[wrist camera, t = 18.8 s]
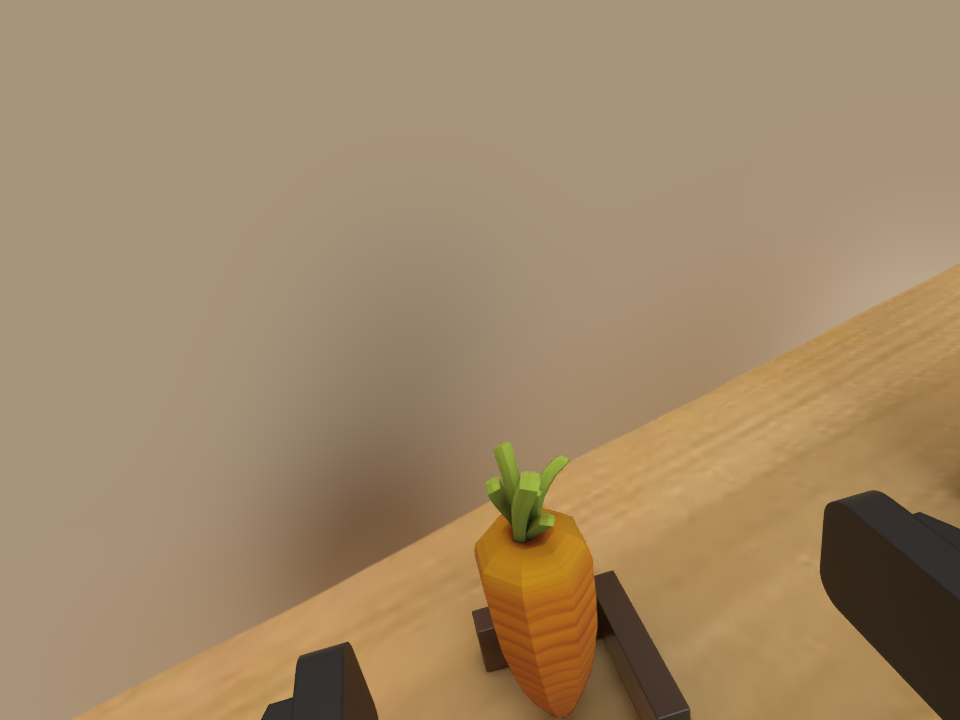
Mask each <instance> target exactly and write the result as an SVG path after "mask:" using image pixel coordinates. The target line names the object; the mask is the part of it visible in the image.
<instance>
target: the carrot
mask: <svg viewBox="0 0 960 720" xmlns="http://www.w3.org/2000/svg"><path fill="white" fill-rule="evenodd" d="M494 452H495V457H496V460H497V463H498V466H499V470H500V473H501V476H502V479H503V483H504V486H505V487H504V486H503V484H502V482H501V481H500V479H499V478H498V477H494V478H491V479H490V480H489V481H488V482H486V491H487V494H488V496H489V498H490V500H491V501H492V503H493V504H494V505H495V507H496V508H497V509H498V510H499V511H500V512H501V513H502V515H500V516H499V517H498V518H497V519H496V520H495V522H494V523H493V524H492V525H491V526H490V527H489V529H488V530H487V531H486V532H485V533H484V534H483V536H482V537H481V538H480V539H479V540H478V541H477V543H476V545H475V558H476V562H477V566H478V569H479V573H480V577H481V581H482V585H483V588H484V592H485V596H486V599H487V603H488V607H489V610H490V614H491V618H492V621H493V625H494V628H495V631H496V634H497V637H498V641H499V644H500V647H501V650H502V653H503V655H504V657H505V659H506V661H507V663H508V665H509V667H510V669H511V671H512V673H513V675H514V677H515V678H516V680H517V682H518V684H519V685H520V687H521V689H522V690H523V692H524V693H525V694H526V695H527V696H528V697H529V698H530V699H531V700H532V701H533V702H534V703H535V704H536V705H538V706H539V707H541V708H542V709H544V710H545V711H547V712H548V713H550V714H552V715H554V716H556V717H558V718H561V717H565V716H568V715H569V714H570V713H571V711H572V710H573V709H574V707H575V706H576V704H577V702H578V700H579V698H580V696H581V694H582V692H583V690H584V688H585V686H586V683H587V681H588V678H589V676H590V673H591V671H592V665H593V659H594V653H595V646H596V635H597V625H598V623H597V605H596V590H595V580H594V570H593V559H592V555H591V552H590V550H589V548H588V546H587V544H586V542H585V540H584V538H583V536H582V534H581V533H580V531H579V529H578V527H577V525H576V523H575V521H574V519H573V517H571V516H568V515H566V514H562V513H559V512H555V511H552V510H548V509H544V508H542V505H543V501H544V497H545V495H546V493H547V491H548V489H549V487H550V485H551V483H552V482H553V480H554V478H555V477H556V475H557V474H558V473H559V472H560V471H561V470H562V469H563V468H564V467H565V465H566V464H567V463H568V462H569V460H568V459H567V458H566V457H564V456H557V457H556V458H555V459H554V460H553V461H551V462H550V463H549V465H548V466H547V467H546V468H545V469H544V470H543V472H542V474H541V476H540V475H539V474H537V473H534V472H532V471H530V472H522V473H521V476H519V471H518V467H517V462H516V459H515V455H514V451H513V449H512V446H511V444H510V442H506V443H501V444H500V445H498V446H497V447H496V448H495V449H494Z"/></svg>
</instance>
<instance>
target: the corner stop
mask: <svg viewBox="0 0 960 720" xmlns="http://www.w3.org/2000/svg"><path fill="white" fill-rule="evenodd" d="M594 580H595V590H596V605H597V623H598V625H597V635H596V639H599V638H603V639H604V642H605V644H606V646H607V648H608V650H609V652H610V654H611V657H612V659H613V661H614V663H615V665H616V667H617V670H618V672H619V674H620V676H621V678H622V680H623V682H624V685H625V687H626V689H627V691H628V693H629V695H630V698H631V700H632V702H633V704H634V706H635V708H636V710H637V713H638V715H639V717H640V719H641V720H690V708H689V706H688V704H687V703H686V701H685V699H684V697H683V695H682V694H681V692H680V690H679V688H678V686H677V685H676V683H675V681H674V679H673V677H672V676H671V674H670V672H669V670H668V668H667V667H666V665H665V663H664V661H663V659H662V657H661V656H660V654H659V652H658V650H657V648H656V647H655V645H654V643H653V641H652V639H651V638H650V636H649V634H648V632H647V630H646V629H645V627H644V625H643V623H642V621H641V620H640V618H639V616H638V614H637V612H636V611H635V609H634V607H633V605H632V603H631V602H630V600H629V598H628V596H627V594H626V593H625V591H624V589H623V587H622V585H621V584H620V582H619V580H618V578H617V576H616V575H615V573H614V571H609V572H606V573H602V574H599V575H595V576H594ZM472 615H473V619H474V624H475V628H476V632H477V636H478V640H479V644H480V648H481V652H482V656H483V660H484V664H485V667H486V671H487V672H490V671H493V670H496V669H500V668H503V667H506V666H509V665H508V663H507V661H506V659H505V657H504V655H503V653H502V650H501V647H500V644H499V641H498V637H497V634H496V631H495V628H494V625H493V621H492V618H491V614H490V610H489V607H485V608H482V609H478V610H475V611H472Z"/></svg>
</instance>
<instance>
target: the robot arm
mask: <svg viewBox="0 0 960 720" xmlns="http://www.w3.org/2000/svg"><path fill="white" fill-rule="evenodd" d="M820 575H821V580H822V583H823V586H824V588H825V591H826V593H827V595H828V596H829V598H830V600H831V601H832V603H833V604H834V605H835V607H836V608H837V609H838V610H839V611H840V612H841V613H842V614H843V615H844V617H845V618H846V619H847V620H848V621H849V622H850V623H851V624H852V625H853V626H854V627H855V628H856V629H857V630H858V631H859V632H860V633H861V634H862V635H863V636H864V638H865V639H866V640H867V641H868V642H869V643H870V644H871V645H872V646H873V647H874V648H875V649H876V650H877V651H878V652H879V653H880V654H881V655H882V656H883V658H884V659H885V660H886V661H887V662H888V663H889V664H890V665H891V666H892V667H893V668H894V669H895V670H896V671H897V672H898V673H899V674H900V675H901V676H902V678H903V679H904V680H905V681H906V682H907V683H908V684H909V685H910V686H911V687H912V688H913V689H914V690H915V691H916V692H917V693H918V694H919V695H920V696H921V697H922V699H923V700H924V701H925V702H926V703H927V704H928V705H929V706H930V707H931V708H932V709H933V710H934V711H935V712H936V713H937V714H938V715H939V716H940V717H941V719H942V720H960V529H959V528H956V527H954V526H952V525H949V524H947V523H945V522H942V521H940V520H937V519H935V518H933V517H930V516H928V515H926V514H923V513H921V512H918V513H915V514H912V513H910V512H909V511H908V510H906V509H905V508H903V507H902V506H901V505H899V504H898V503H897V502H895V501H894V500H893V499H891V498H890V497H889V496H887V495H886V494H884V493H882V492H879V491H876V490H871V491H868V492H864V493H861V494H857V495H854V496H850V497H847V498H844V499H840V500H837V501H833V502H830V503H829V504H827V506H826V507H825V510H824V520H823V534H822V547H821V561H820ZM261 720H378V715H377V711H376V708H375V704H374V702H373V699H372V696H371V694H370V691H369V689H368V686H367V684H366V681H365V679H364V676H363V674H362V671H361V668H360V666H359V663H358V661H357V658H356V656H355V653H354V651H353V648H352V646H351V645H350V643H349V642H345V643H342V644H338V645H335V646H332V647H328V648H325V649H321V650H318V651H314V652H311V653H308V654H304V655H301V656H300V657H299V658H298V661H297V665H296V673H295V683H294V692H293V698H289V699H286V700H283V701H279V702H276V703H273V704H269V705H268V707H267V709H266V711H265V713H264V715H263V717H262V719H261Z"/></svg>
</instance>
